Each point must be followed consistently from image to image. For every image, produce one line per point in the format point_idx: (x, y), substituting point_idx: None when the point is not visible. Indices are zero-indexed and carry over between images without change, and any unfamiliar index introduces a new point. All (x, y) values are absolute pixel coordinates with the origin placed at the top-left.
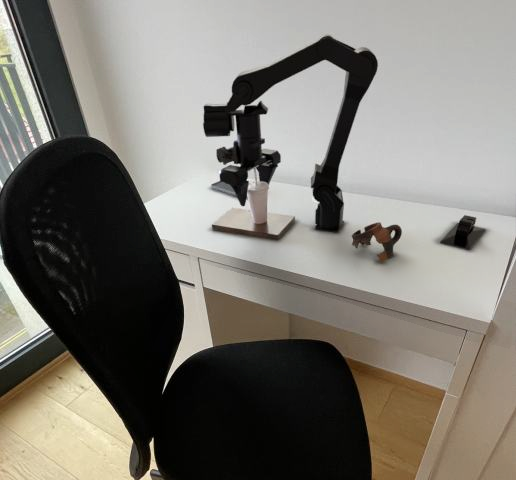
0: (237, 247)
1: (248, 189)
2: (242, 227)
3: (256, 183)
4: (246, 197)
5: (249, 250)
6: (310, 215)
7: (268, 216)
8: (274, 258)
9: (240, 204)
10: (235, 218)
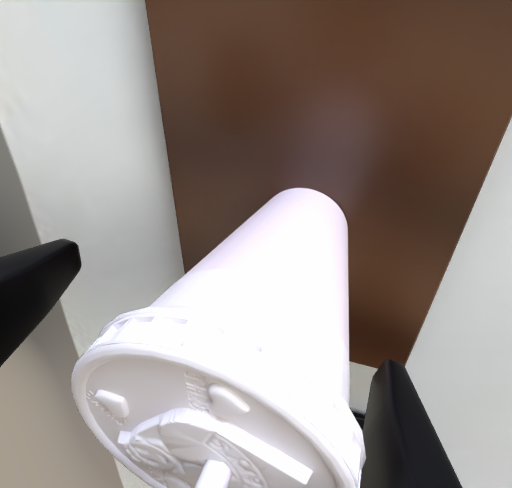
0: (73, 163)
1: (74, 389)
2: (187, 146)
3: (202, 484)
4: (16, 346)
5: (85, 219)
6: (483, 405)
7: (383, 259)
8: (96, 303)
9: (52, 242)
10: (305, 17)
